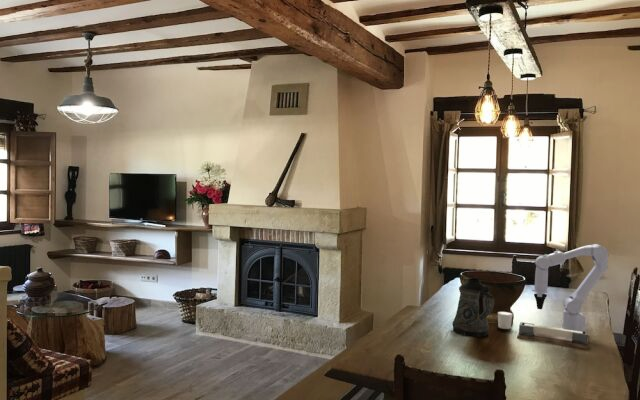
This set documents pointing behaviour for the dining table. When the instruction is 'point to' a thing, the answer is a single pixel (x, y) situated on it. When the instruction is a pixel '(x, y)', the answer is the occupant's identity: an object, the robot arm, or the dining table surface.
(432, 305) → the dining table surface
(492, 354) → the dining table surface
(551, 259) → the robot arm
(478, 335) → the beer stein
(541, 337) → the frame board
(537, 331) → the slat
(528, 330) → the end caps
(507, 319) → the white cylinder
